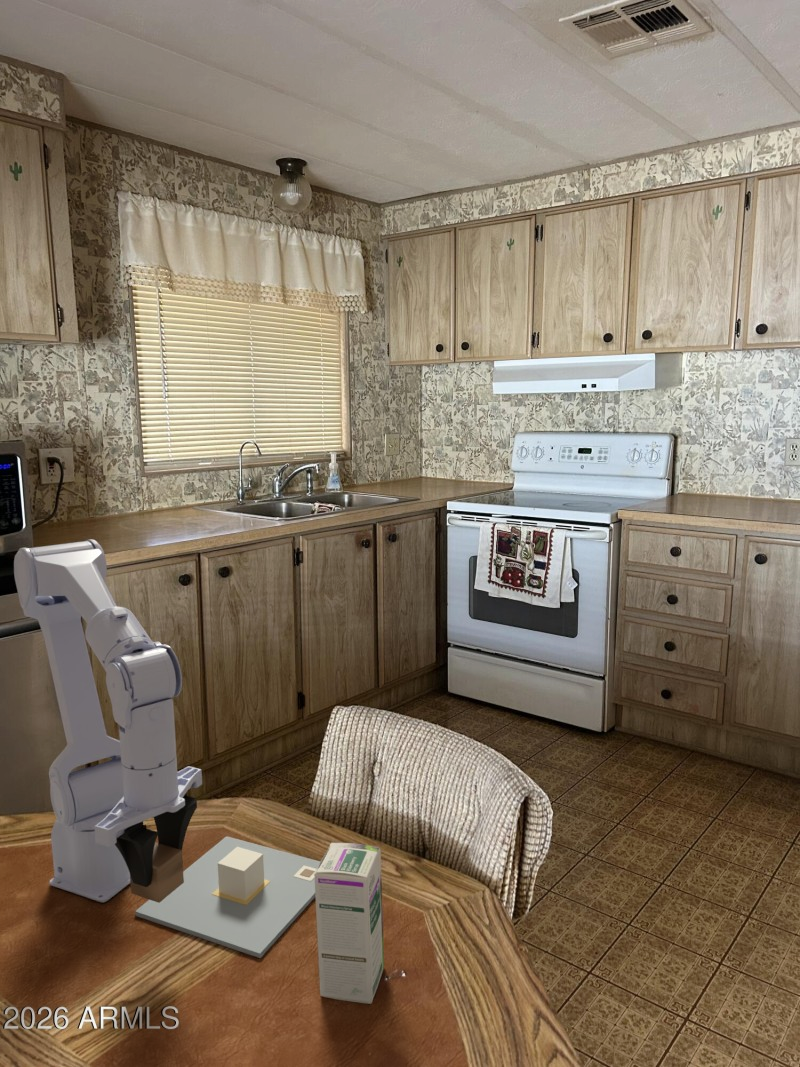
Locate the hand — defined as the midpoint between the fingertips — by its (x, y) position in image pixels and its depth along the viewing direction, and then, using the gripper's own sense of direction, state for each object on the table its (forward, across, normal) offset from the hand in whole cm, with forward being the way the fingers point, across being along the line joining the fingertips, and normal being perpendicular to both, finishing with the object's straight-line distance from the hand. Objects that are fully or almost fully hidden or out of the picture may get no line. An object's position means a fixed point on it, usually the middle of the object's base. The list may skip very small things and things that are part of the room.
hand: (156, 872), depth 89 cm
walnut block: (+2, 0, 0) cm, 2 cm away
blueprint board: (+9, +12, -2) cm, 15 cm away
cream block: (+9, +12, -2) cm, 15 cm away
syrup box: (+10, +4, -22) cm, 25 cm away
